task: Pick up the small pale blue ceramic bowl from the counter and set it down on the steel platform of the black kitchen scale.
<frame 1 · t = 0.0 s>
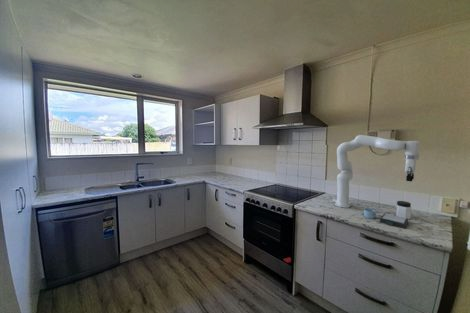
hand: (409, 180, 140), 31 cm above the worktop, tool pointing down, fingers open, 9 cm apart
scale: (394, 222, 139), on the worktop
bowl: (369, 216, 149), on the worktop
jar: (402, 217, 148), on the worktop
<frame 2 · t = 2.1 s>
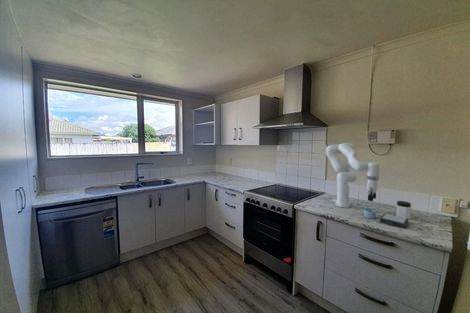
hand: (371, 199, 147), 14 cm above the worktop, tool pointing down, fingers open, 9 cm apart
nothing on the worktop moved.
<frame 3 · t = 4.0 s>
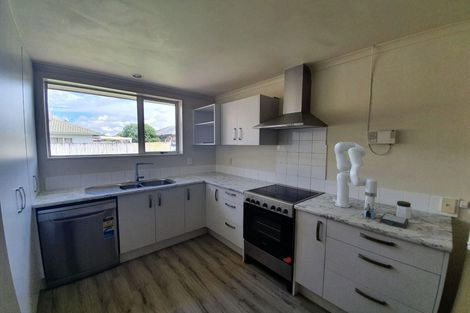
hand: (369, 215, 149), 1 cm above the worktop, tool pointing down, fingers closed on bowl, 7 cm apart
bowl: (369, 216, 149), on the worktop, touching gripper
everything else where it was.
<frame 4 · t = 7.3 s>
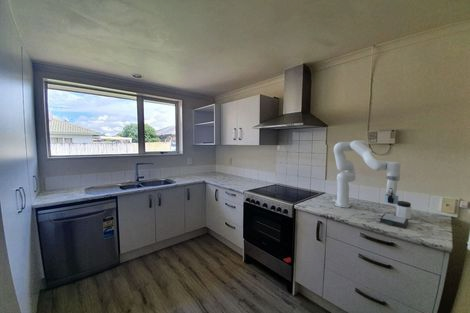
hand: (391, 201, 139), 16 cm above the worktop, tool pointing down, fingers closed on bowl, 7 cm apart
bowl: (391, 202, 139), point 15 cm above the worktop, touching gripper
everything else where it was.
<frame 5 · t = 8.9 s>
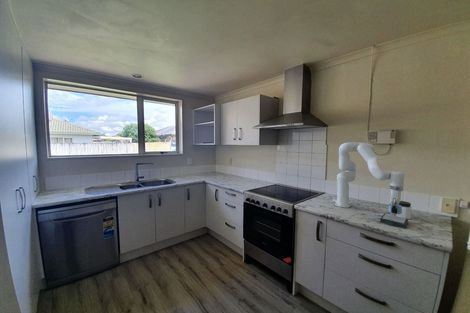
hand: (394, 211, 138), 9 cm above the worktop, tool pointing down, fingers closed on bowl, 7 cm apart
bowl: (394, 212, 138), point 8 cm above the worktop, touching gripper
everything else where it was.
when the fingers open (5 cm above the worktop, at t = 10.5 s): bowl stays where it is, resting on scale.
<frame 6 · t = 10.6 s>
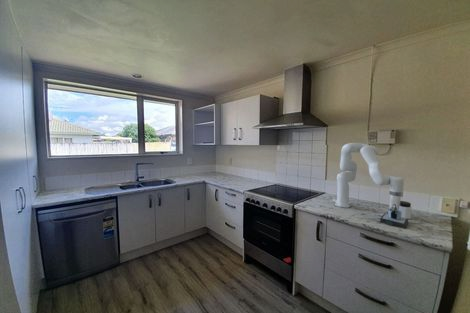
hand: (394, 216, 138), 4 cm above the worktop, tool pointing down, fingers open, 7 cm apart
bowl: (394, 217, 138), point 4 cm above the worktop, touching scale
everything else where it was.
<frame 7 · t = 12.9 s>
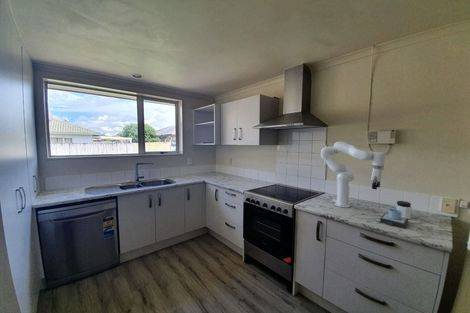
hand: (375, 188, 152), 22 cm above the worktop, tool pointing down, fingers open, 9 cm apart
nothing on the worktop moved.
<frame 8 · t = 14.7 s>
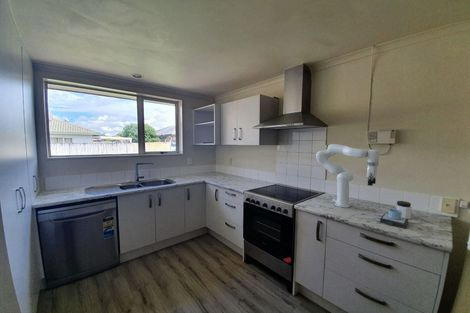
hand: (371, 184, 156), 24 cm above the worktop, tool pointing down, fingers open, 9 cm apart
nothing on the worktop moved.
at the end: bowl inside the target area on the scale (0.0 cm from its centre), point 3.6 cm above the scale's base; bowl tilted 0°; the gripper is holding nothing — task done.
